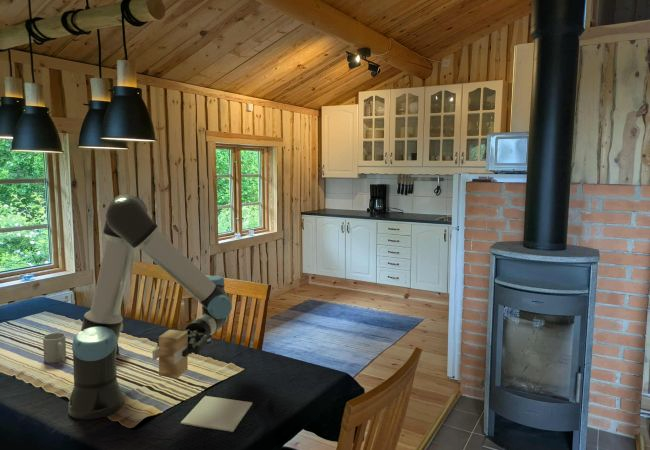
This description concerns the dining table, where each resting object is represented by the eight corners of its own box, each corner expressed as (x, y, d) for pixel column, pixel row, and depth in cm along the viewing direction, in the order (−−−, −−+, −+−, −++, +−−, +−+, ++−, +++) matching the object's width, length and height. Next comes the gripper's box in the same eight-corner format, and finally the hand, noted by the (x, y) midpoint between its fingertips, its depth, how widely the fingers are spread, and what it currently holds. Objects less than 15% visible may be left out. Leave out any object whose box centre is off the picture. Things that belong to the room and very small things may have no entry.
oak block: (158, 375, 140) (158, 336, 138) (169, 367, 146) (169, 329, 144) (177, 378, 139) (177, 338, 137) (187, 369, 144) (187, 331, 143)
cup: (61, 353, 182) (60, 331, 181) (72, 361, 176) (72, 338, 175) (40, 359, 177) (39, 336, 175) (51, 367, 170) (50, 343, 169)
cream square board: (180, 423, 138) (180, 422, 138) (205, 397, 154) (205, 395, 154) (232, 431, 135) (232, 430, 135) (252, 403, 151) (252, 402, 151)
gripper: (227, 343, 157) (195, 373, 135) (174, 337, 161) (134, 365, 138) (227, 321, 156) (195, 348, 134) (174, 315, 160) (134, 340, 137)
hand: (164, 356), depth 136 cm, fingers closed on oak block, 6 cm apart
